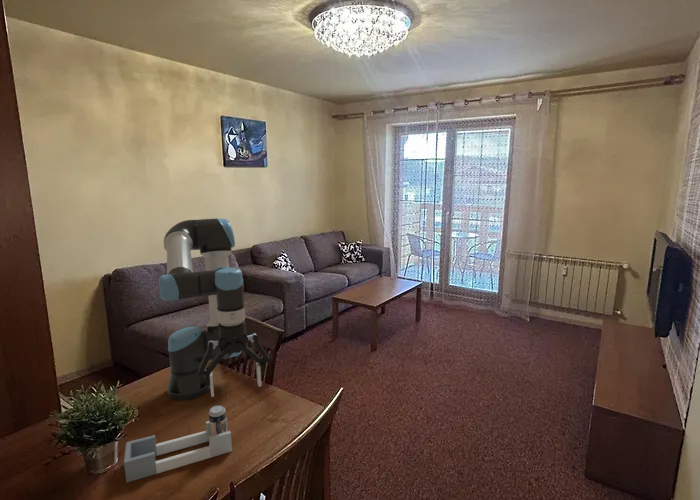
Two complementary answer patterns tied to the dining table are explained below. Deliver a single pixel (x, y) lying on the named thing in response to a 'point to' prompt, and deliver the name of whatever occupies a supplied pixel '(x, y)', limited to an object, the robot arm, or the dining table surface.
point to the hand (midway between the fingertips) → (236, 389)
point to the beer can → (217, 420)
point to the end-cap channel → (145, 449)
